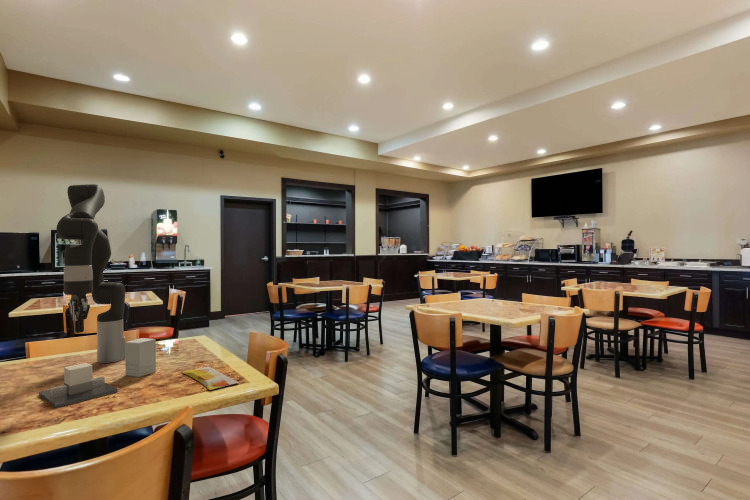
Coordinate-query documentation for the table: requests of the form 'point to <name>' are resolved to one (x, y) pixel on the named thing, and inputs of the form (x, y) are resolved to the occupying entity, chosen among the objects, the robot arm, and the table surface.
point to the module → (78, 378)
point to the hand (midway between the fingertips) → (79, 332)
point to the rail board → (62, 398)
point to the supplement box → (140, 357)
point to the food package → (210, 377)
